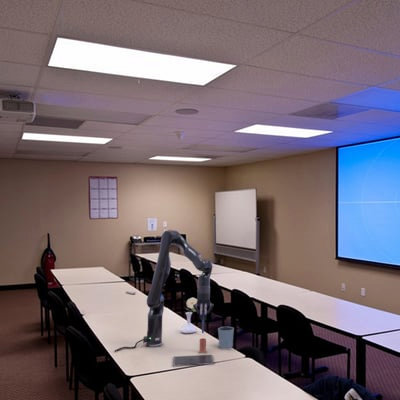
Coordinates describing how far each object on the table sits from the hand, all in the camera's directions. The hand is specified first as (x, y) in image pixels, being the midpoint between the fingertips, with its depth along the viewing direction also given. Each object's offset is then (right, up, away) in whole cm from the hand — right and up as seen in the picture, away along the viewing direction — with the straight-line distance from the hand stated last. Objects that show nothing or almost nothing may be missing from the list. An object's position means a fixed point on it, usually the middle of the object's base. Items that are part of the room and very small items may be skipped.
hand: (203, 320), depth 259 cm
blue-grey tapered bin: (+13, -20, +10) cm, 26 cm away
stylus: (0, -8, 0) cm, 8 cm away
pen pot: (0, -20, -1) cm, 20 cm away
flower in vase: (-16, -21, +42) cm, 50 cm away
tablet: (-3, -19, -15) cm, 25 cm away
